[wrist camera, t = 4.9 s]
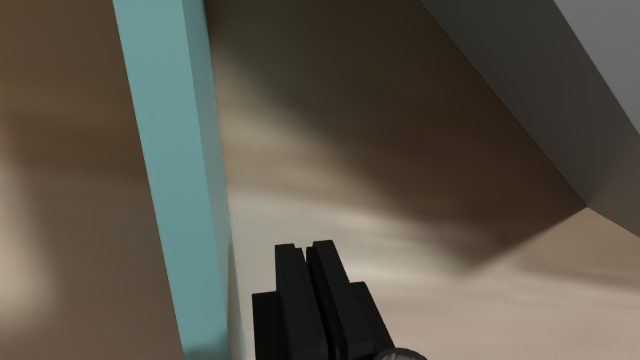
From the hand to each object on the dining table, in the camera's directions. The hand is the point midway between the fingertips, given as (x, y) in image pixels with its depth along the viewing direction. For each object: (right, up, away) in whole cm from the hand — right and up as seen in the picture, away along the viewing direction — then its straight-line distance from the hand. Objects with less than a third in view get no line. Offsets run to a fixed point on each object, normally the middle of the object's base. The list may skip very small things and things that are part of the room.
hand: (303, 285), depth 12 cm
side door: (-3, +4, +1) cm, 6 cm away
